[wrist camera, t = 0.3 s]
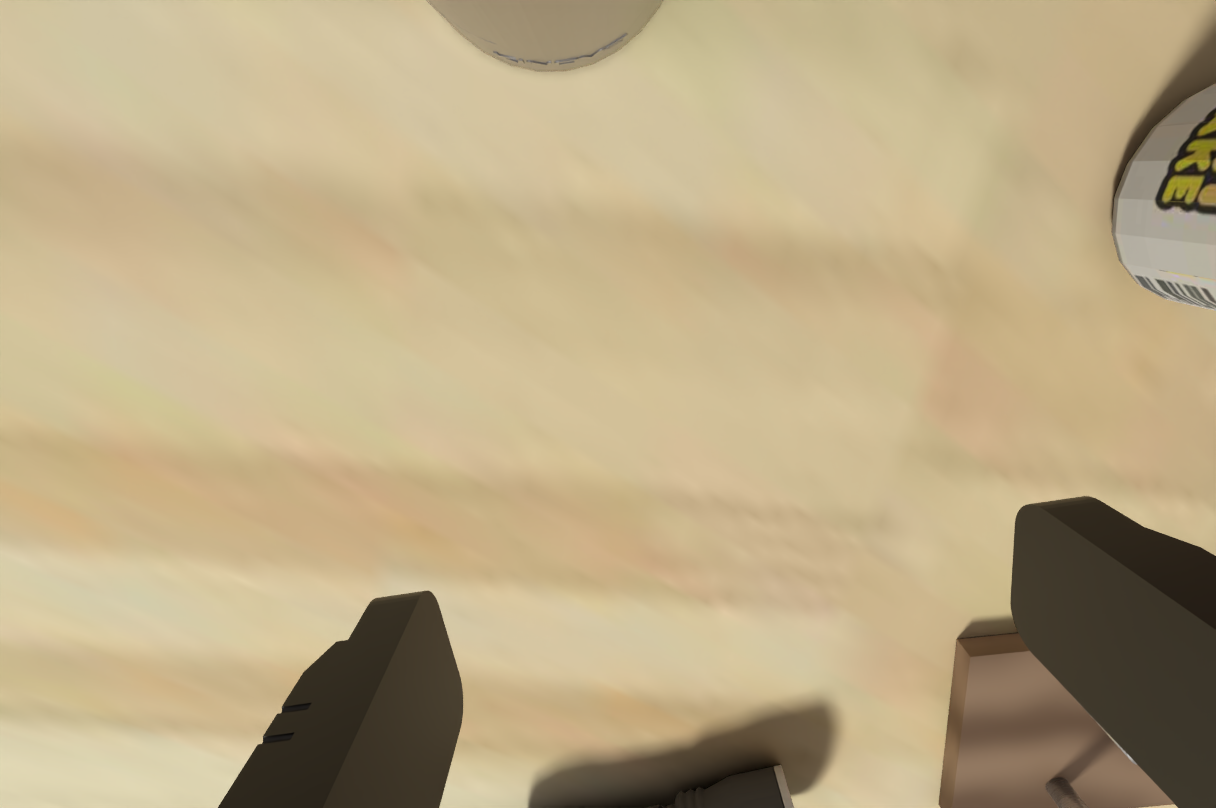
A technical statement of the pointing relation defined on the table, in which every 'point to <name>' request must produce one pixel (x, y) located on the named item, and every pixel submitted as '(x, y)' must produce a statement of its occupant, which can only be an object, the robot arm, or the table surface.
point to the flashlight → (740, 792)
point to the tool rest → (1029, 739)
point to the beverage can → (1172, 206)
